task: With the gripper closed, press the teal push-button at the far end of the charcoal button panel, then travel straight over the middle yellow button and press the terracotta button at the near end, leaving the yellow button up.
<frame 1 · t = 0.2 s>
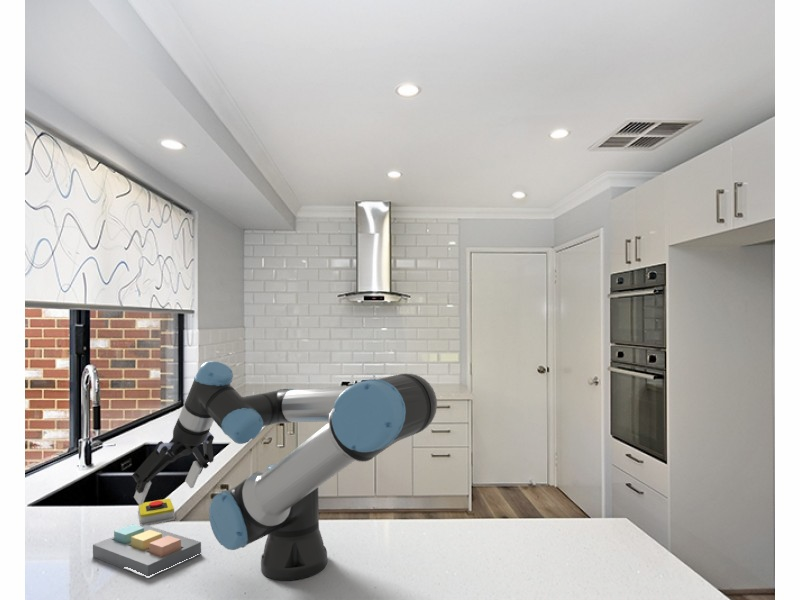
hand: (164, 492, 130), 16 cm above the worktop, tool tilted 35°, fingers open, 13 cm apart
emergency button: (156, 517, 160), on the worktop
teal button: (129, 535, 136), point 3 cm above the worktop, slide at 0.0 cm
button panel: (146, 555, 132), on the worktop
terracotta button: (165, 547, 128), point 3 cm above the worktop, slide at 0.0 cm
yellow button: (146, 541, 132), point 3 cm above the worktop, slide at 0.0 cm
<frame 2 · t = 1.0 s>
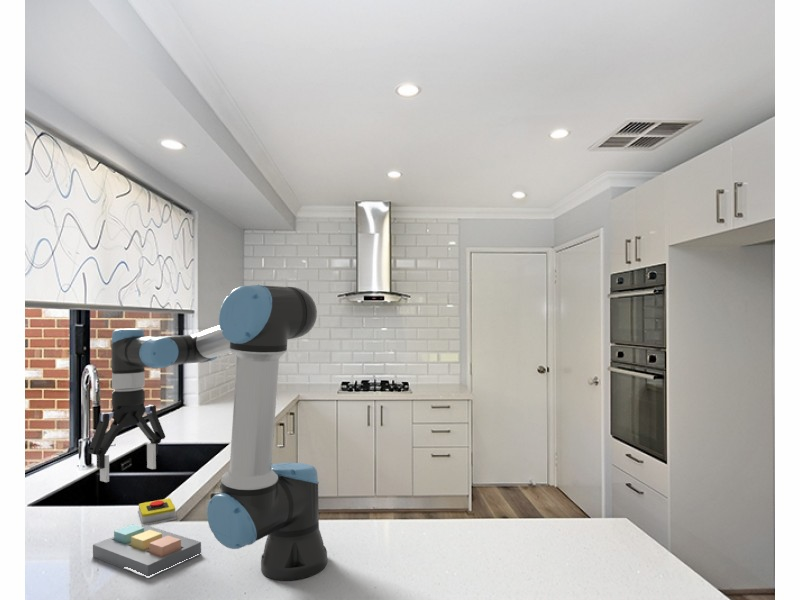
hand: (128, 474, 137), 19 cm above the worktop, tool pointing down, fingers open, 12 cm apart
nothing on the worktop moved.
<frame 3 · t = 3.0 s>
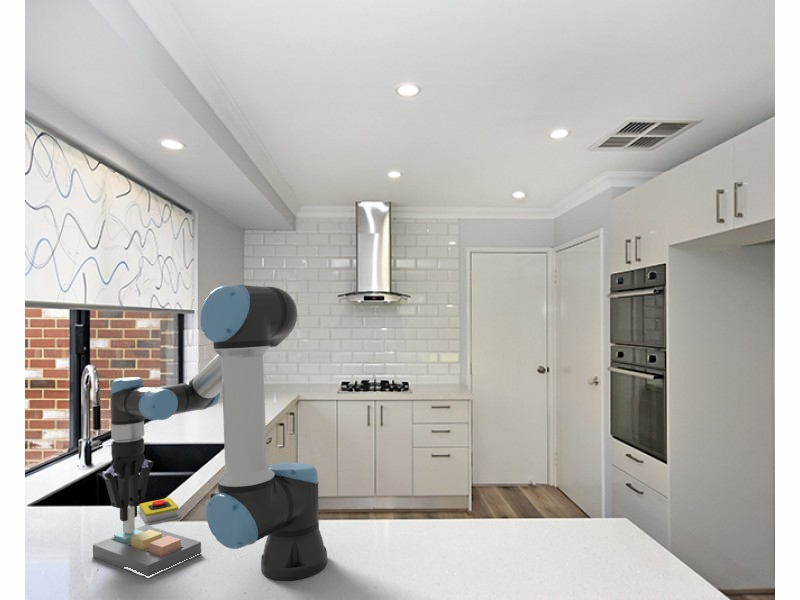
hand: (128, 532, 136), 4 cm above the worktop, tool pointing down, fingers closed
teal button: (129, 539, 136), point 3 cm above the worktop, slide at 1.0 cm, touching gripper
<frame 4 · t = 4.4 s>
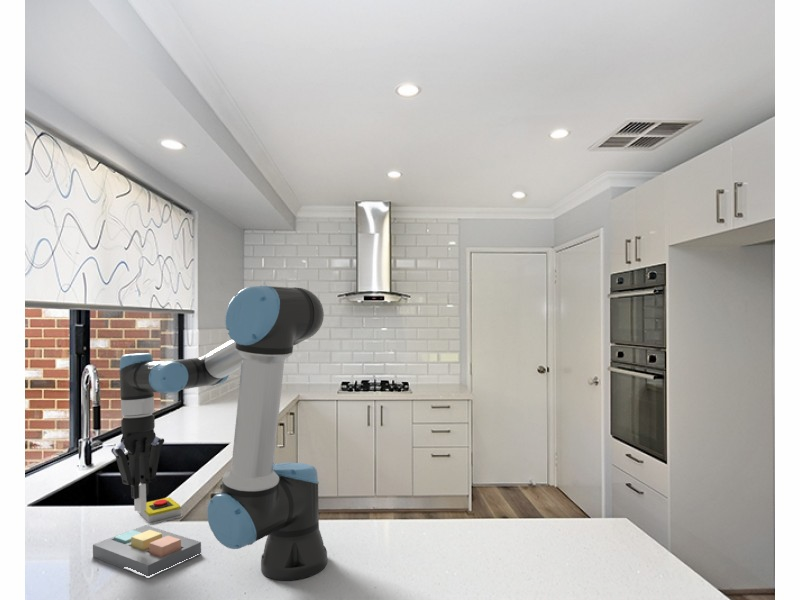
hand: (140, 510, 134), 11 cm above the worktop, tool pointing down, fingers closed
teal button: (129, 541, 136), point 2 cm above the worktop, slide at 1.5 cm
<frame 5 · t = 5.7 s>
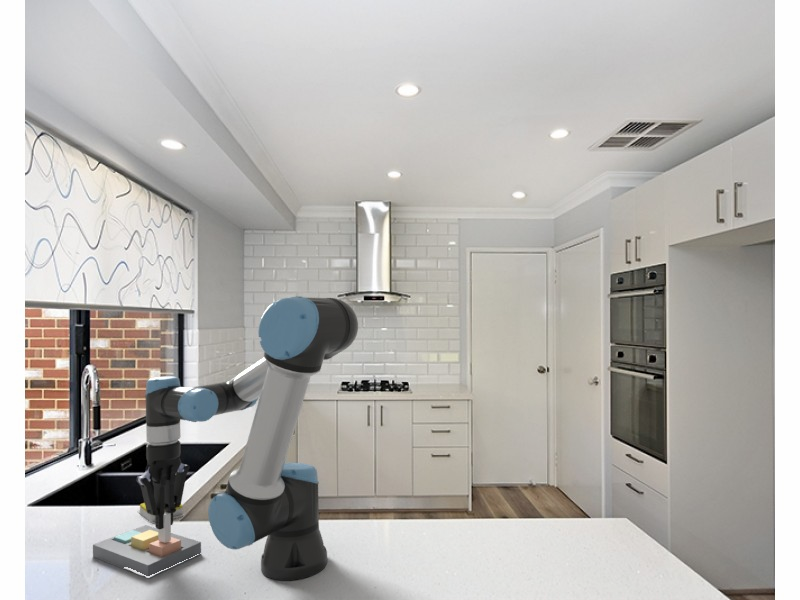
hand: (164, 540, 128), 5 cm above the worktop, tool pointing down, fingers closed
terracotta button: (165, 548, 128), point 3 cm above the worktop, slide at 0.2 cm, touching gripper
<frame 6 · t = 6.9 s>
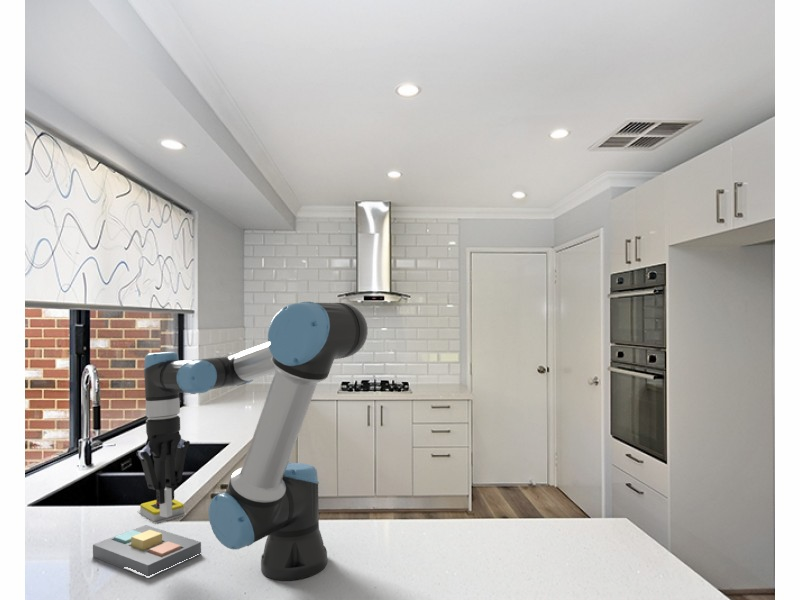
hand: (166, 515, 128), 11 cm above the worktop, tool pointing down, fingers closed
terracotta button: (165, 553, 128), point 2 cm above the worktop, slide at 1.5 cm
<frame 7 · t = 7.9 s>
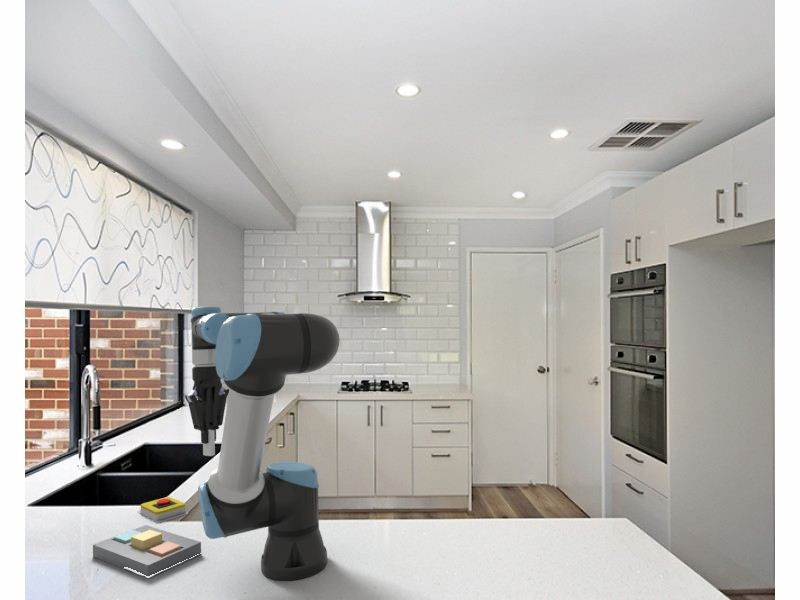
hand: (209, 454, 141), 22 cm above the worktop, tool pointing down, fingers closed
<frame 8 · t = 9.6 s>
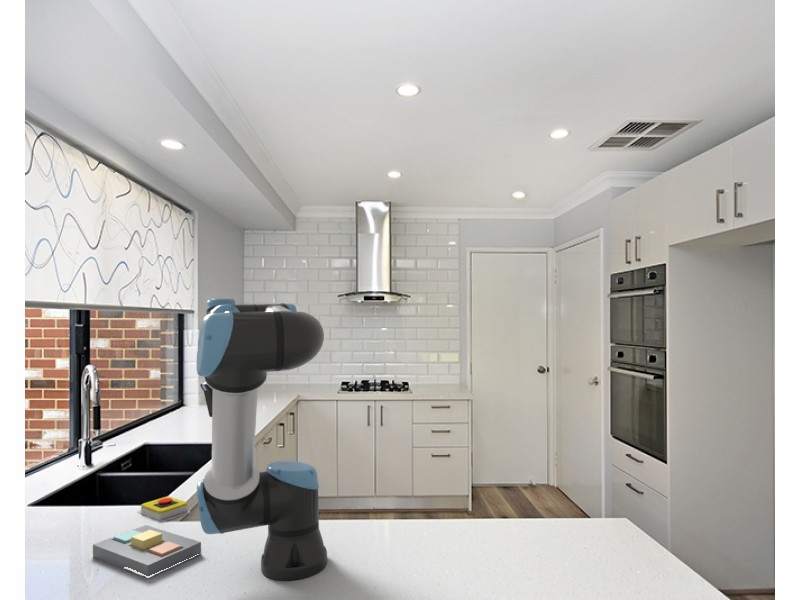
hand: (223, 441, 146), 24 cm above the worktop, tool pointing down, fingers closed
at the end: teal button slide at 1.5 cm; terracotta button slide at 1.5 cm; yellow button slide at 0.0 cm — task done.
